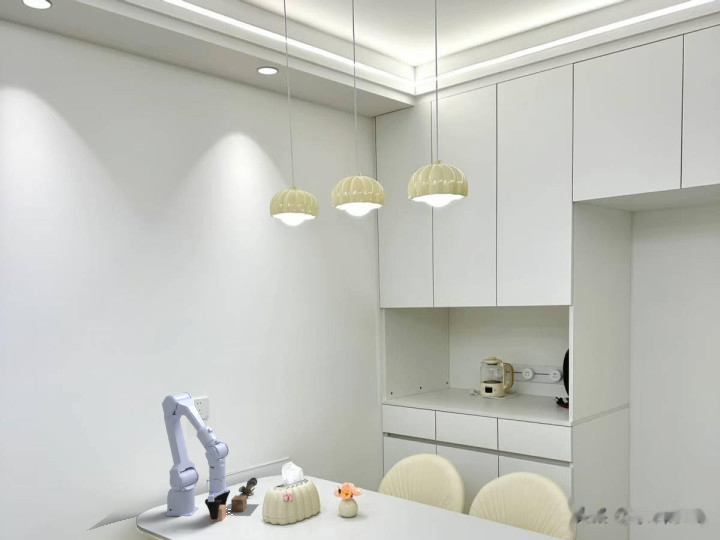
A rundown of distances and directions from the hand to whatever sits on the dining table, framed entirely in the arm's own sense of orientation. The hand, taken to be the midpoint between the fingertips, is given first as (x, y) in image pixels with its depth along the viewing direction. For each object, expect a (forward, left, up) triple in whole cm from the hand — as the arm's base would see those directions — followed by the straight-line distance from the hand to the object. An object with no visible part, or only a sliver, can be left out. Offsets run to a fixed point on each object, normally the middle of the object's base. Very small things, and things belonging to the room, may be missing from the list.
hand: (218, 515), depth 219 cm
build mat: (+5, +9, -1) cm, 10 cm away
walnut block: (+5, +9, -1) cm, 10 cm away
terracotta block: (0, 0, -2) cm, 2 cm away
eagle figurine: (+4, +26, -2) cm, 26 cm away
